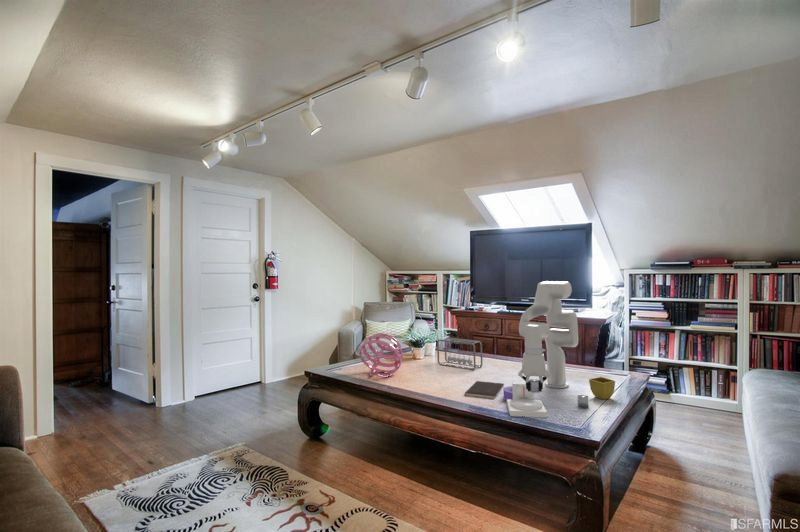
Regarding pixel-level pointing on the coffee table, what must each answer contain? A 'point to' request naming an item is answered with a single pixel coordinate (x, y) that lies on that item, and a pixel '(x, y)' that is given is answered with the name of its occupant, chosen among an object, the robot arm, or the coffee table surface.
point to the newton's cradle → (459, 359)
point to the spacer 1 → (534, 385)
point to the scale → (525, 403)
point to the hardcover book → (484, 389)
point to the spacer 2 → (583, 401)
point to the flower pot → (602, 387)
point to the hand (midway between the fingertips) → (534, 390)
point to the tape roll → (508, 393)
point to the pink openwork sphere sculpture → (380, 354)
